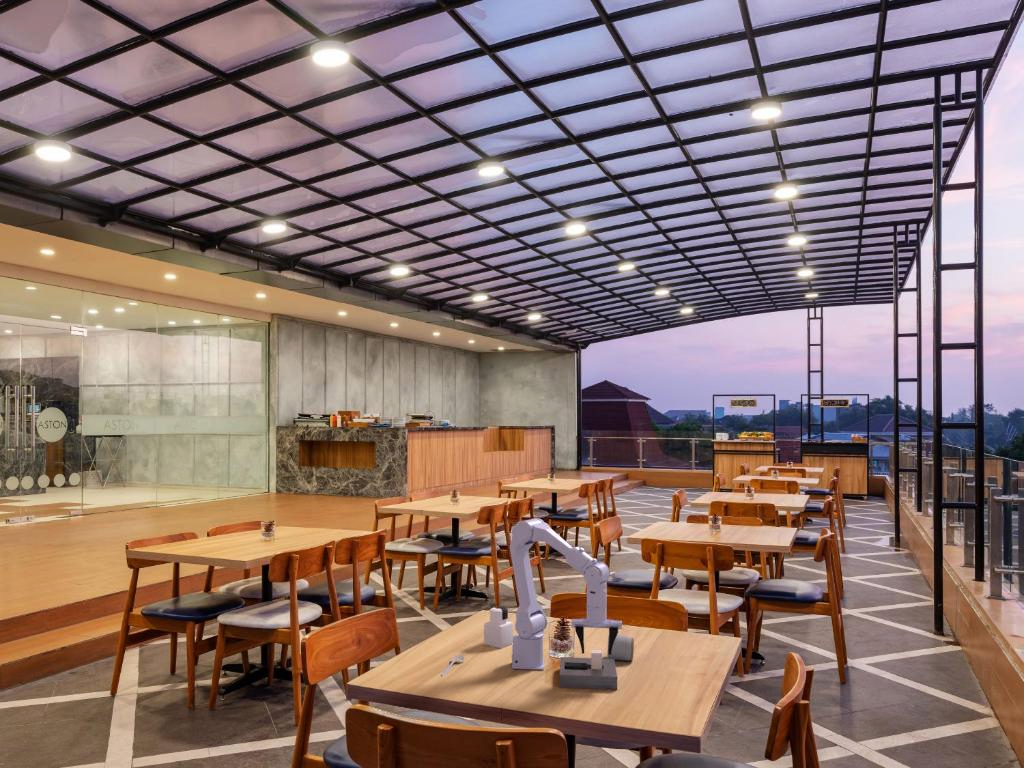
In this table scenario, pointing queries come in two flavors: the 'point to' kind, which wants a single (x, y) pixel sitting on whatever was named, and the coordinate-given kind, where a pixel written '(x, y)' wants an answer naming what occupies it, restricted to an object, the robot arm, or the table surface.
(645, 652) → the table surface
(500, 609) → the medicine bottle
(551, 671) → the table surface
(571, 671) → the keyhole plate
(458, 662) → the spoon
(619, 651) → the ceramic mug
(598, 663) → the peg
